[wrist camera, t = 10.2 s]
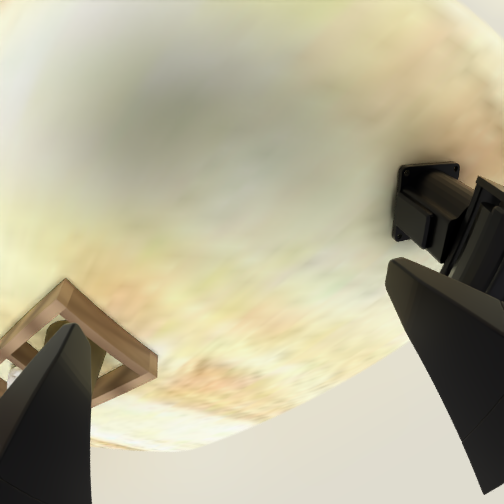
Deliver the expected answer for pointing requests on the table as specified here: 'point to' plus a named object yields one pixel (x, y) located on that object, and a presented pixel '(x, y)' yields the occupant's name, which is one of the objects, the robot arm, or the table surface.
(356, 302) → the table surface
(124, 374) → the crate
